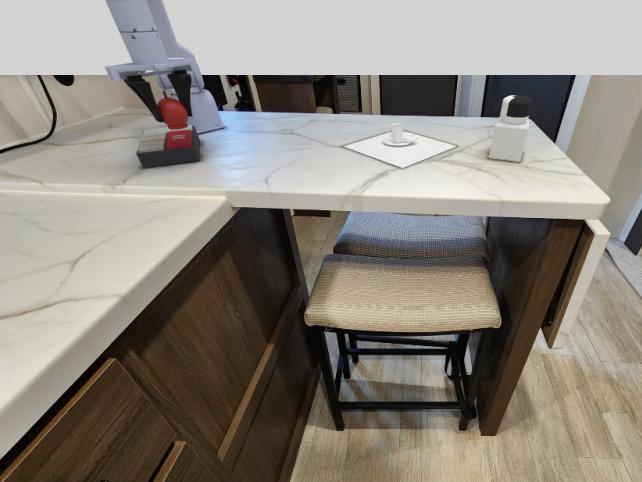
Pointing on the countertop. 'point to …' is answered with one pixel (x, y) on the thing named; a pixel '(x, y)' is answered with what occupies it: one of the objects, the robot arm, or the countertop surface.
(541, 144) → the countertop surface
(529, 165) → the countertop surface
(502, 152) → the medicine bottle
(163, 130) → the grey box
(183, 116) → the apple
